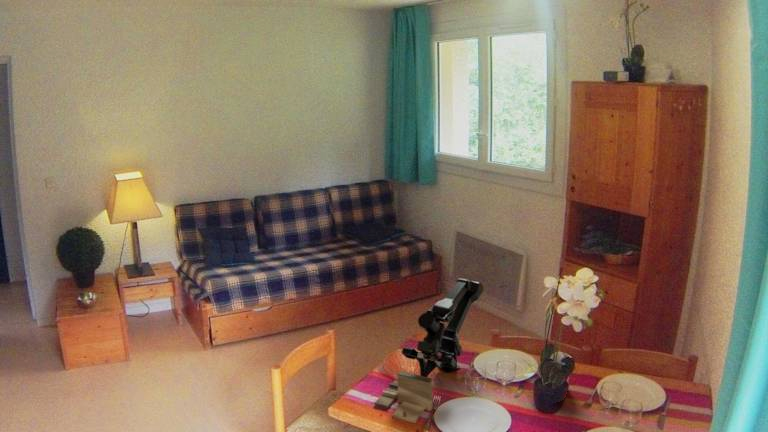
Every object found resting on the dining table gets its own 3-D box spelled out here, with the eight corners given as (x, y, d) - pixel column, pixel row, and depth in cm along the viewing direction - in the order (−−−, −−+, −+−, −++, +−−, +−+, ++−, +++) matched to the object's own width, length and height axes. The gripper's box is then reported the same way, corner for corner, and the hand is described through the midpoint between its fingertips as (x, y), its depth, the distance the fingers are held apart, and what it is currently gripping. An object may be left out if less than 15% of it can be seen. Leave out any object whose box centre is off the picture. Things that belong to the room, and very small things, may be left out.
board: (394, 383, 221) (394, 377, 220) (407, 386, 219) (407, 380, 218) (374, 405, 207) (374, 400, 206) (387, 409, 205) (387, 403, 204)
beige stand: (400, 399, 210) (400, 370, 208) (432, 408, 205) (432, 378, 202) (387, 415, 201) (386, 385, 198) (420, 424, 196) (420, 394, 193)
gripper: (403, 325, 214) (390, 368, 208) (453, 335, 206) (441, 380, 200) (412, 336, 223) (400, 377, 217) (460, 345, 215) (449, 389, 209)
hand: (422, 380), depth 210 cm, fingers closed
